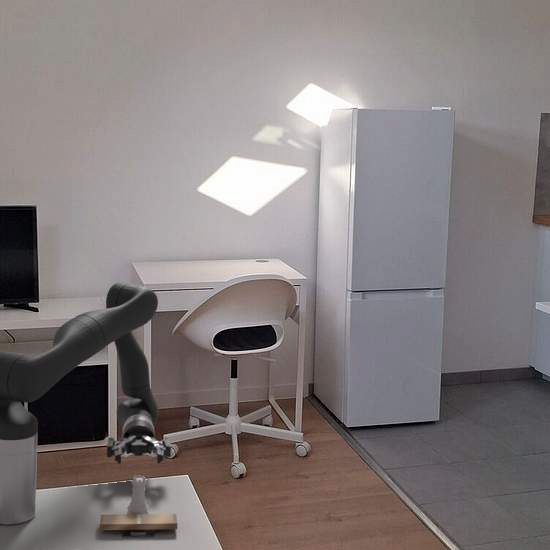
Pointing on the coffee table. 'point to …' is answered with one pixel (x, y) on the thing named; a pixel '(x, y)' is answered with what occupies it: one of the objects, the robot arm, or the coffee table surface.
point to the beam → (137, 521)
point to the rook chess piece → (138, 497)
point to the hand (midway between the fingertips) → (139, 459)
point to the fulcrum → (138, 533)
